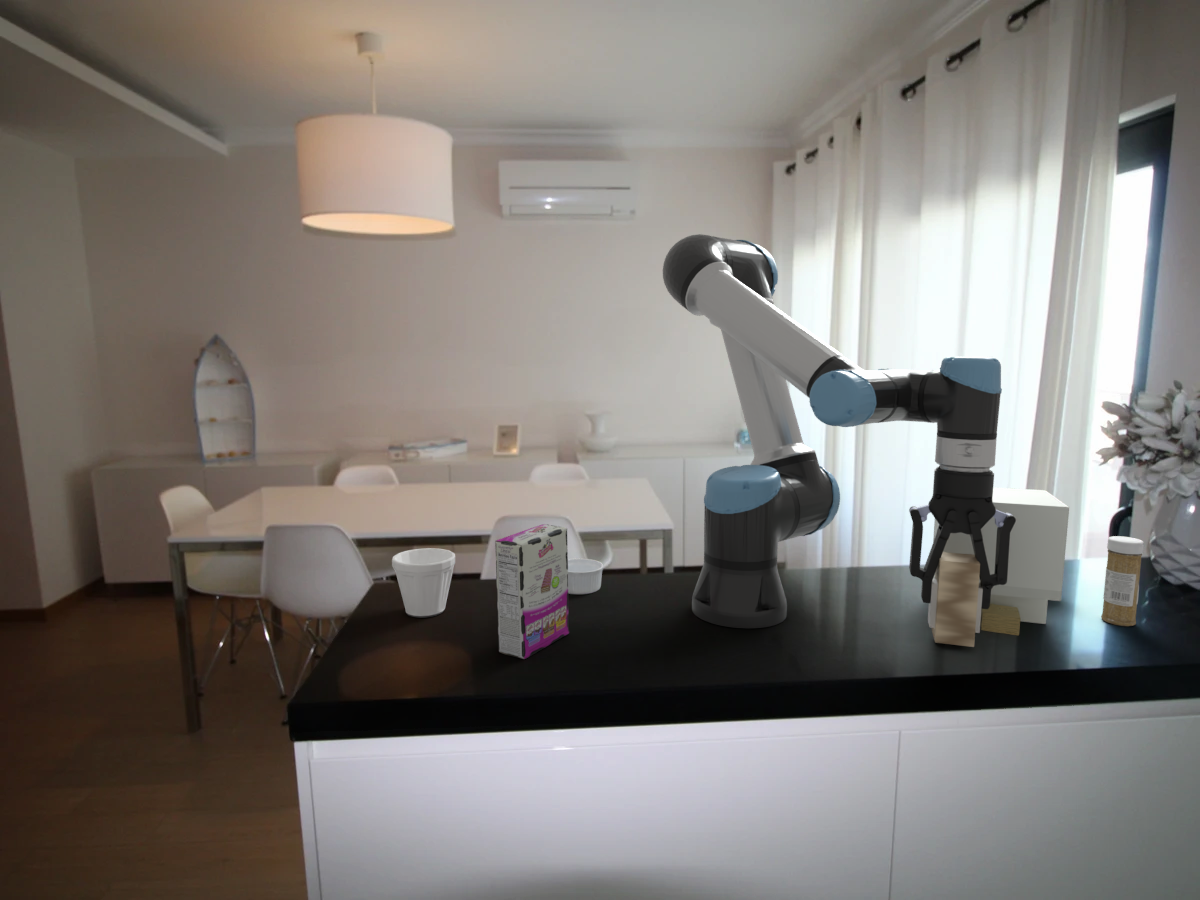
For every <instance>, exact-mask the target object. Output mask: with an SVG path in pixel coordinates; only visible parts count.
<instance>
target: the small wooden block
mask: <svg viewBox="0 0 1200 900" xmlns="http://www.w3.org/2000/svg"><path fill="white" fill-rule="evenodd" d="M1020 627H1021V621H1020V614H1019V611H1018V608H1017V607H1010V606H1003V605H995V604H990V607H989V609H981V620H980V631H985V632H990V633H991V632H993V633H996V634H997V633H998V634H1005V635H1011V636H1012V635H1013V636H1019V635H1020Z"/></svg>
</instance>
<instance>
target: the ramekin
mask: <svg viewBox="0 0 1200 900" xmlns="http://www.w3.org/2000/svg"><path fill="white" fill-rule="evenodd" d="M603 571H604V564H603V563H602V562H601V561H598V560H595V559H591V558H580V557H579V558H578V557H576V558H568V595H569V594H570V595H588V594H592V593H596V592H597V591H599V590H600V589H601V586H602V576H603V575H602V574H603Z"/></svg>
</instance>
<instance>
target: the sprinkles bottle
mask: <svg viewBox="0 0 1200 900" xmlns="http://www.w3.org/2000/svg"><path fill="white" fill-rule="evenodd" d="M1144 544H1145V542H1144V541H1143V540H1141V539H1139V538H1134V537H1130V536H1123V535H1122V536H1120V535H1117V536H1116V535H1115V536H1114V535H1113V536H1109V537H1108V539H1107V544H1106V545H1107V546H1106V548H1107V560H1106V561H1107V562H1106V568H1105V580H1104V587H1103V598H1102V599H1103V604H1102V614H1101V616H1100V617H1101V619H1102V620H1103V621H1104V622H1106V623H1108V624H1111V625H1114V626H1120V627H1132V626H1135V625H1137V620H1136V617H1137V609H1138V608H1137V607H1138V606H1137V605H1138V602H1139V591H1140V577H1141V564H1142V556H1143V554H1144V551H1145V550H1144V549H1145V545H1144Z"/></svg>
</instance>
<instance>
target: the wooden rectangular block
mask: <svg viewBox="0 0 1200 900" xmlns="http://www.w3.org/2000/svg"><path fill="white" fill-rule="evenodd" d="M979 574H980V563H979V562H978V561H977V560H976V558H975V555H972V554H960V553H948V552H943V553H942V556H941V558H939V564H938V567H937V569H936V572H935V579H936V580H937V583H938V590H937V605H936V620H935V628H931V632H932V636H933V640H934V643H937V644H945V645H955V646H961V647H970V648H974V647H975V640H976V639H975V637H976V633H975V628H976V614H977V601H978V588H979Z"/></svg>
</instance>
